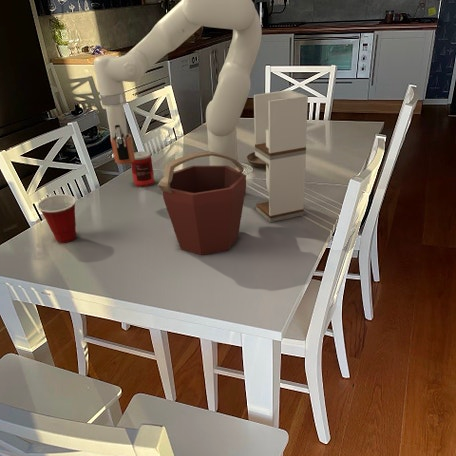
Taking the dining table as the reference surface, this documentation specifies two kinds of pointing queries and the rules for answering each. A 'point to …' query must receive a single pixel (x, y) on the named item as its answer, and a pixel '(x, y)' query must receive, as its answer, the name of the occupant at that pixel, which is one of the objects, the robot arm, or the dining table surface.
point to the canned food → (142, 169)
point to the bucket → (204, 203)
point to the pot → (129, 148)
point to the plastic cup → (60, 216)
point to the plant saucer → (256, 161)
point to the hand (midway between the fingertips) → (124, 155)
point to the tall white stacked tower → (282, 151)
